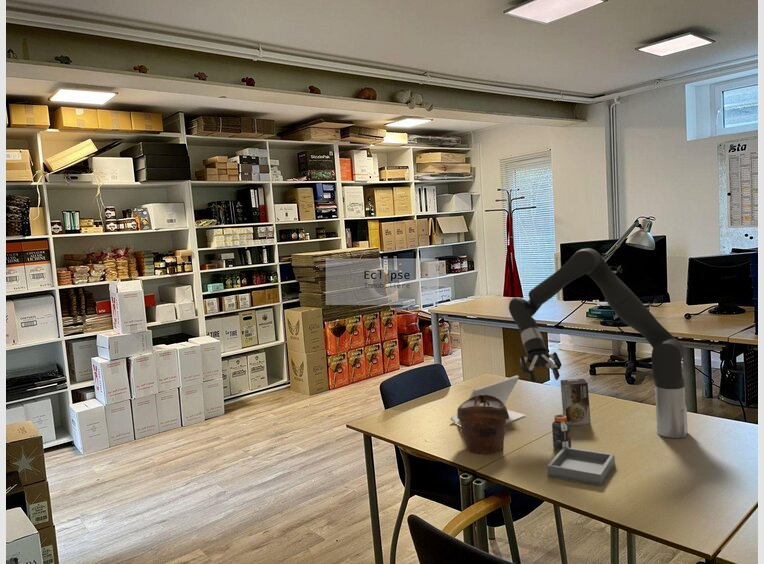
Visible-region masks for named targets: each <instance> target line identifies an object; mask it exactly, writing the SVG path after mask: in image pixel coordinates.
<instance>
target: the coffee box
mask: <svg viewBox="0 0 764 564" xmlns="http://www.w3.org/2000/svg"><path fill="white" fill-rule="evenodd" d="M560 391H561V392H560V393H561V405H562V415H565V416H566V417H567V422H569V424H570V426H579V424H580V425H591V424H592V423H591V410H590V409H591V408H590V398H589V397H590V395H589V383H588V382H587V381H586V379H585V378H574V379H573V378H572V379H571V378H570V379H562V380H561V379H560Z"/></svg>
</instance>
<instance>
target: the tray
mask: <svg viewBox="0 0 764 564" xmlns="http://www.w3.org/2000/svg"><path fill="white" fill-rule="evenodd" d="M615 457H616V456H615V454H614V453H610V452H603V451H595V450H588V449H582V448H575V447H571V448H569V447H563V448H562V449H561V450H560V451H559V452H557V454H556V455H555V456H554V457H553V458H552V460H550V462H549V463H548V464H547V465H546V469H547V472H546V473H547V477H550V478H554V479H555V478H556V479H561V480H566V481H570V480H571V482H577V483H583V484H588V485H592V484H593V486H599V487H602V486H603V485H604V483H605V481H606V479H608V476H609V475H610V474H611V472H612V470H613V469H614V468H615V465H616V458H615Z"/></svg>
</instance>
